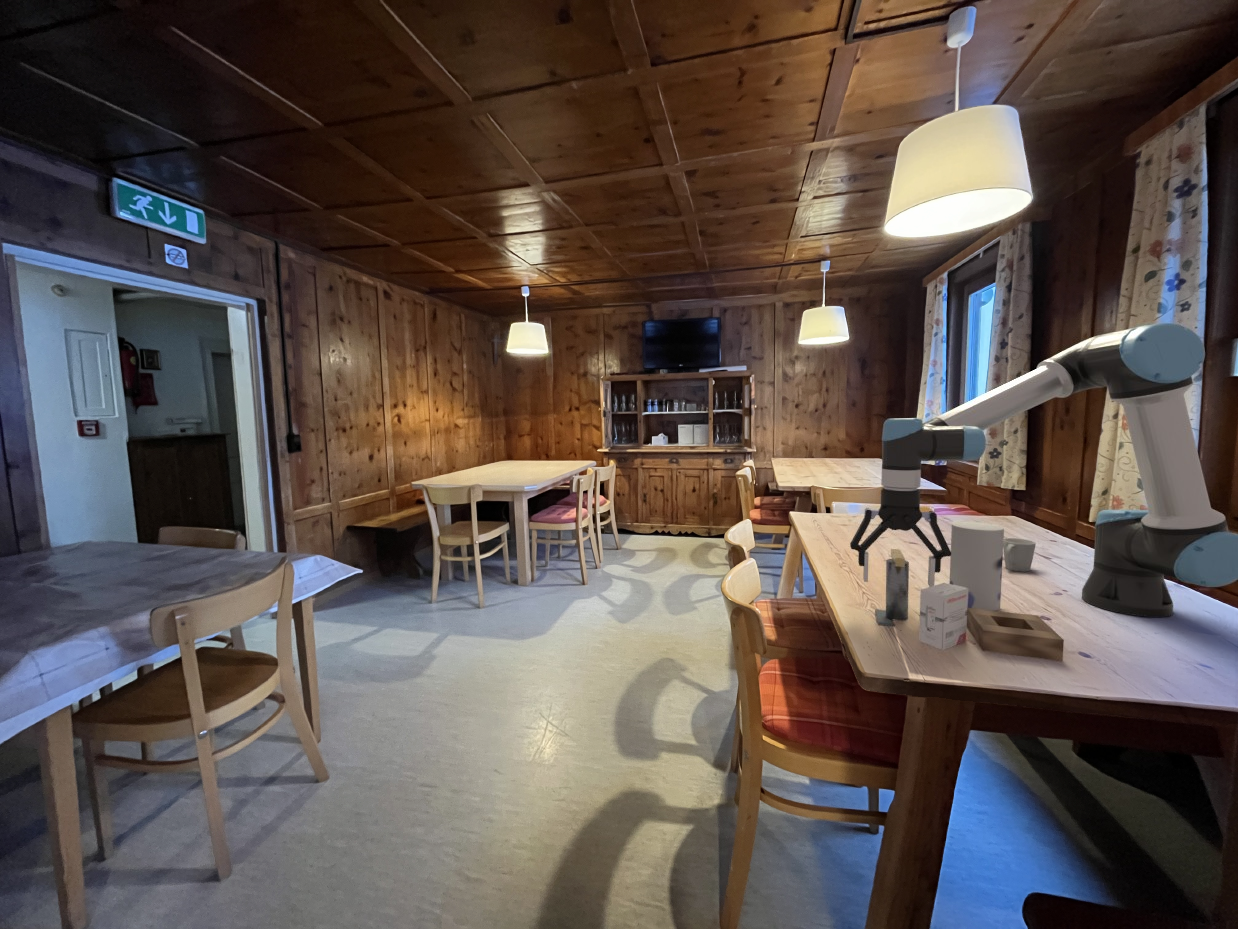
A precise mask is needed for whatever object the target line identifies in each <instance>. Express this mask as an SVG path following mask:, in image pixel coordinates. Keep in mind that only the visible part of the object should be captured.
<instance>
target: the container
mask: <svg viewBox="0 0 1238 929" xmlns="http://www.w3.org/2000/svg"><path fill="white" fill-rule="evenodd" d="M1004 535H1005V528H1004V527H1003V526H1001V525H998V524H993V523H988V522H982V521H981V522H980V521H965V520H964V521H954V522H952V523H951V534H950V551H951V556H949V557H950V558H949V559H950V560H949V561H950V562H949V584H952V585H957V586H961V587H965V588H967V589H968V607H967V608H973V609H982V610H992V611H999V610H1000V609H1001V601H1002V600H1001V597H1002V581H1003V580H1002V578H1003V577H1002V576H1003V558H1004V549H1003V540H1004V539H1005V537H1004Z"/></svg>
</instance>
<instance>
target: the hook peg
mask: <svg viewBox="0 0 1238 929" xmlns="http://www.w3.org/2000/svg"><path fill="white" fill-rule="evenodd" d="M885 562H886V563H885V565H886V567H885V610H886V618H888V619H890V620H893V621H894V620H895V621H906V620H908V618H909V578H910V577H909V574H910V563H909V561H907V560H906V558H905V556H904V554H903V553H902V551H901V550H900V549H899V548H898V549H897V548H890V558H887V559H886V561H885Z"/></svg>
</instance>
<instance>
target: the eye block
mask: <svg viewBox="0 0 1238 929" xmlns="http://www.w3.org/2000/svg"><path fill="white" fill-rule="evenodd" d="M966 629H967V630H968V631H969V633H971V635H972V637H973V639H974V640H975V641H976V643H977V644H978V645H979V646H978V647H980V648H981V650H982V651H983V652H991V653H997V654H1004V655H1013V656H1019V657H1026V658H1027V657H1028V658H1033V659H1043V660H1048V661H1049V660H1051V661H1055V662H1063V659H1064V642H1065V640H1064V638H1062V637H1061V635H1059V634H1058V633H1057V632H1056V631H1055V630H1054V629H1053V628H1052V627H1051V626H1049V624H1048V623H1046V622H1045V621H1044V620H1043V619H1042V618H1041V617H1040V616H1039V615H1036V614H1030V613H1029V614H1027V613H1018V612H1009V611H1001V610H1000V611H999V610H996V611H992V610H982V609H973V608H967V628H966Z"/></svg>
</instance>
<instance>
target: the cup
mask: <svg viewBox="0 0 1238 929" xmlns="http://www.w3.org/2000/svg"><path fill="white" fill-rule="evenodd" d="M1035 549H1036V541H1033V540H1030V539H1025V538H1017V537H1016V538H1015V537H1004V540H1003V558H1004V565H1005V568H1006V569H1008V570H1010V571H1014V572H1019V573H1020V572H1022V573H1027V572H1030V571H1031V567H1032V563H1033V559H1034V554H1035V551H1036V550H1035Z"/></svg>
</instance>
